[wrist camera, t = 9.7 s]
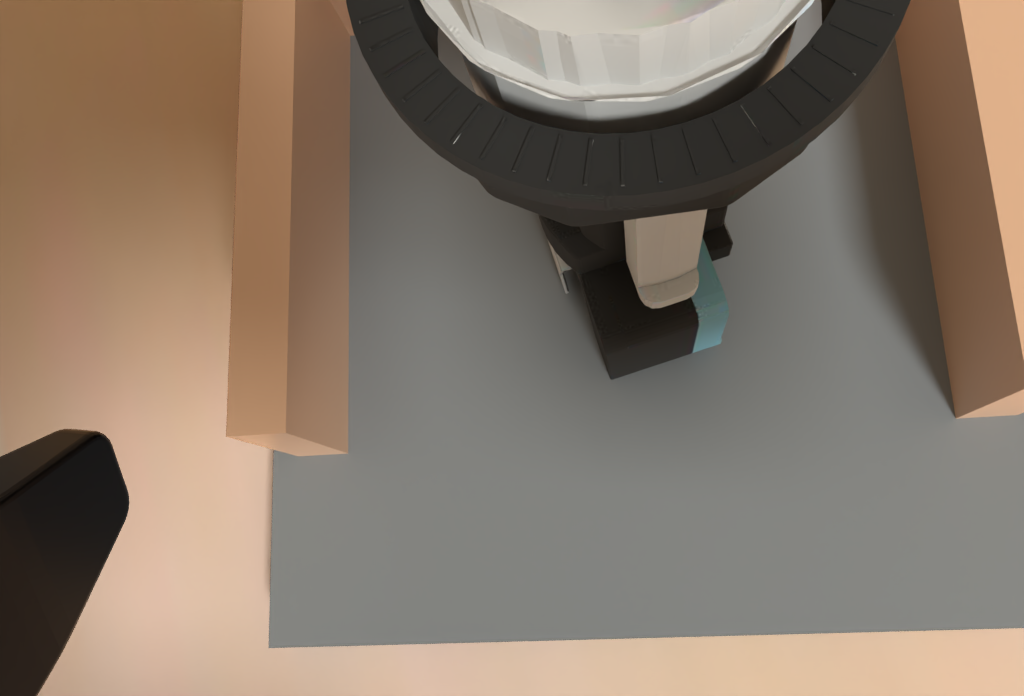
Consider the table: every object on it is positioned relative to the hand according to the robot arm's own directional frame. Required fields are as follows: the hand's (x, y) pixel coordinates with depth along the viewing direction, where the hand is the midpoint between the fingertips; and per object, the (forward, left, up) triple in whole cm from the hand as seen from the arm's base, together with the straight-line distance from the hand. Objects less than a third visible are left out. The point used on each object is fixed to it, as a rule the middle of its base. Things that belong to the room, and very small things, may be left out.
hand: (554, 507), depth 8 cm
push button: (+6, -1, -8) cm, 10 cm away
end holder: (+6, -1, -9) cm, 11 cm away
